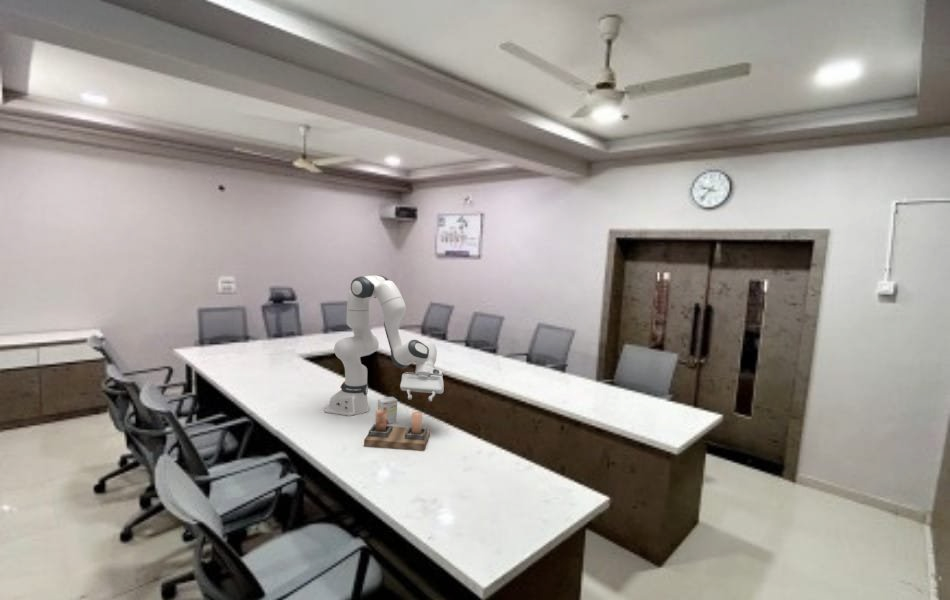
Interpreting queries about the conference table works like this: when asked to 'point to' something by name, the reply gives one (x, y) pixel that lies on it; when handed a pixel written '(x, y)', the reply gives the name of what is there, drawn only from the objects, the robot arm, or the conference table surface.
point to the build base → (394, 435)
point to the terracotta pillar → (416, 423)
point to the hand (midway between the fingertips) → (419, 399)
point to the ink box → (389, 408)
